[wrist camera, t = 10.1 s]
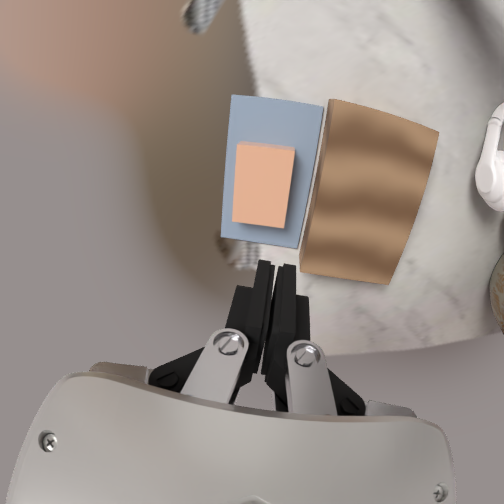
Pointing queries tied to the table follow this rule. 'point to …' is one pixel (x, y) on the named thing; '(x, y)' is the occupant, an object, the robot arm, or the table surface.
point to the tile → (262, 183)
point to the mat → (278, 133)
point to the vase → (498, 292)
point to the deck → (365, 193)
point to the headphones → (492, 164)
